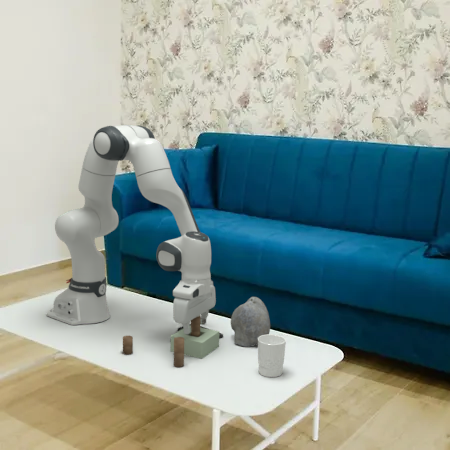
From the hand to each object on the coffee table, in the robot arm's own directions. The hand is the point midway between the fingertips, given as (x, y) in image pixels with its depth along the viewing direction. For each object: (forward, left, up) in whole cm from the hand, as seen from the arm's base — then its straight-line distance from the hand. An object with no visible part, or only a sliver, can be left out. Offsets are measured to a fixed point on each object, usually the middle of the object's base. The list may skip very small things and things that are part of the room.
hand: (195, 328), depth 193 cm
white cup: (+27, -4, -7) cm, 28 cm away
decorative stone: (+12, +14, -7) cm, 20 cm away
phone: (-5, +12, -7) cm, 15 cm away
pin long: (0, 0, -7) cm, 7 cm away
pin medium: (+2, -13, -7) cm, 15 cm away
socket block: (0, 0, -7) cm, 7 cm away
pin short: (-16, -13, -7) cm, 22 cm away
